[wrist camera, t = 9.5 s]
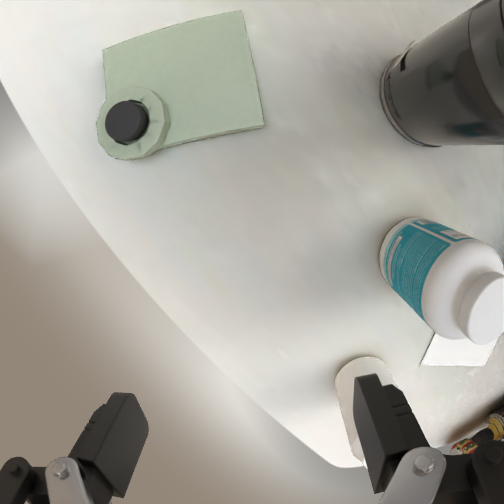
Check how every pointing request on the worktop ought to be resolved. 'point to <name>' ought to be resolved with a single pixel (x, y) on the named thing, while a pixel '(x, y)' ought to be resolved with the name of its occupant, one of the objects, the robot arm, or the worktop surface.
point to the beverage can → (346, 392)
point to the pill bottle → (446, 279)
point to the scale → (183, 84)
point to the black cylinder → (126, 121)
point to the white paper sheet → (457, 352)
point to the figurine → (482, 434)
